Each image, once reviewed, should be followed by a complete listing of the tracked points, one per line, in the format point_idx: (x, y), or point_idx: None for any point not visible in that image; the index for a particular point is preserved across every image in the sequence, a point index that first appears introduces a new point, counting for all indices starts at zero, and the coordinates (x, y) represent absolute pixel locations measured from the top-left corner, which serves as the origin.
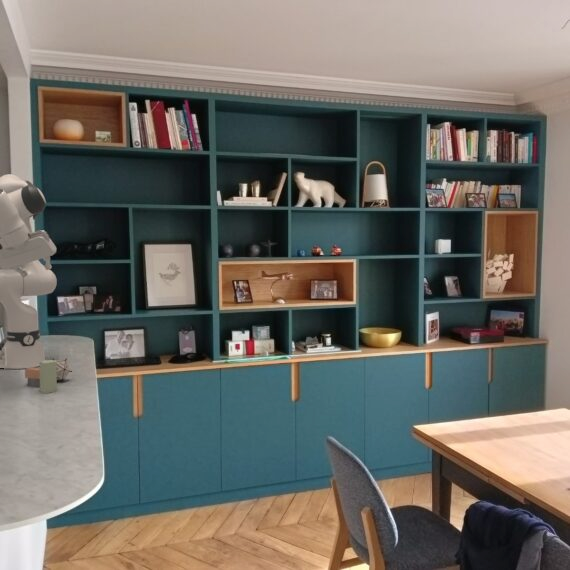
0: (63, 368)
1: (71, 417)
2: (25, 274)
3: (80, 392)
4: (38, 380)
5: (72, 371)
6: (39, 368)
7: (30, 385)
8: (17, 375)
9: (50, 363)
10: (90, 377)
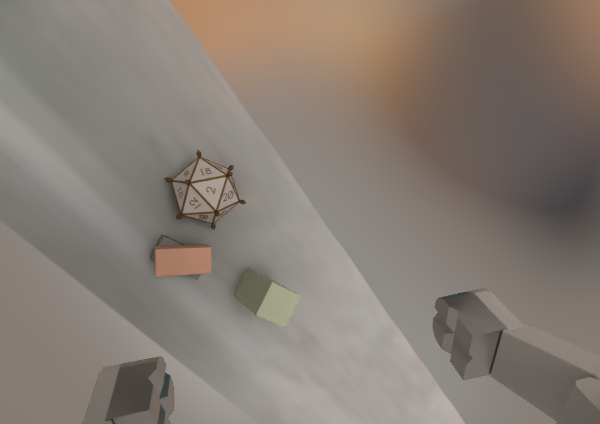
0: (237, 202)
1: (404, 399)
2: (169, 403)
3: (322, 264)
4: None
5: (233, 165)
6: (193, 252)
7: None
8: (5, 166)
9: (292, 310)
10: (253, 129)
